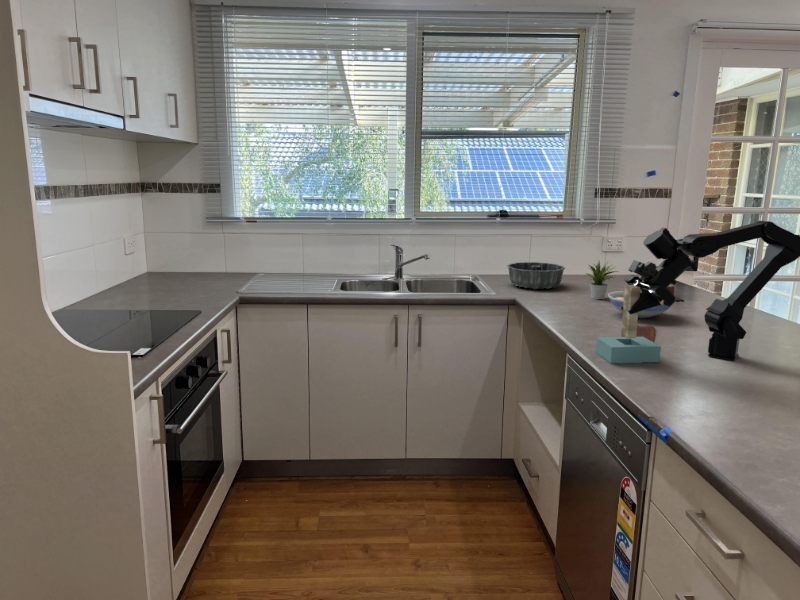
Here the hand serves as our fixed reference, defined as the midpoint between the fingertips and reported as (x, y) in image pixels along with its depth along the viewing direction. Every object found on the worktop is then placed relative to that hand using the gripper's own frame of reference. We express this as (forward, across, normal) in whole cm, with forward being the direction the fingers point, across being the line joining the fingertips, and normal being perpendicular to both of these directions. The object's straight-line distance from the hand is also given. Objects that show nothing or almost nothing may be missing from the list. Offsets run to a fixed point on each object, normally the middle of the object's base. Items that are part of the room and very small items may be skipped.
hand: (625, 311), depth 154 cm
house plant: (-9, -80, +28) cm, 85 cm away
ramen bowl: (-11, -49, +30) cm, 58 cm away
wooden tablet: (-1, -23, +21) cm, 31 cm away
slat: (+4, 0, +6) cm, 7 cm away
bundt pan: (+4, -110, +15) cm, 111 cm away
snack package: (-29, -88, +48) cm, 105 cm away
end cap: (+8, 0, +10) cm, 13 cm away
